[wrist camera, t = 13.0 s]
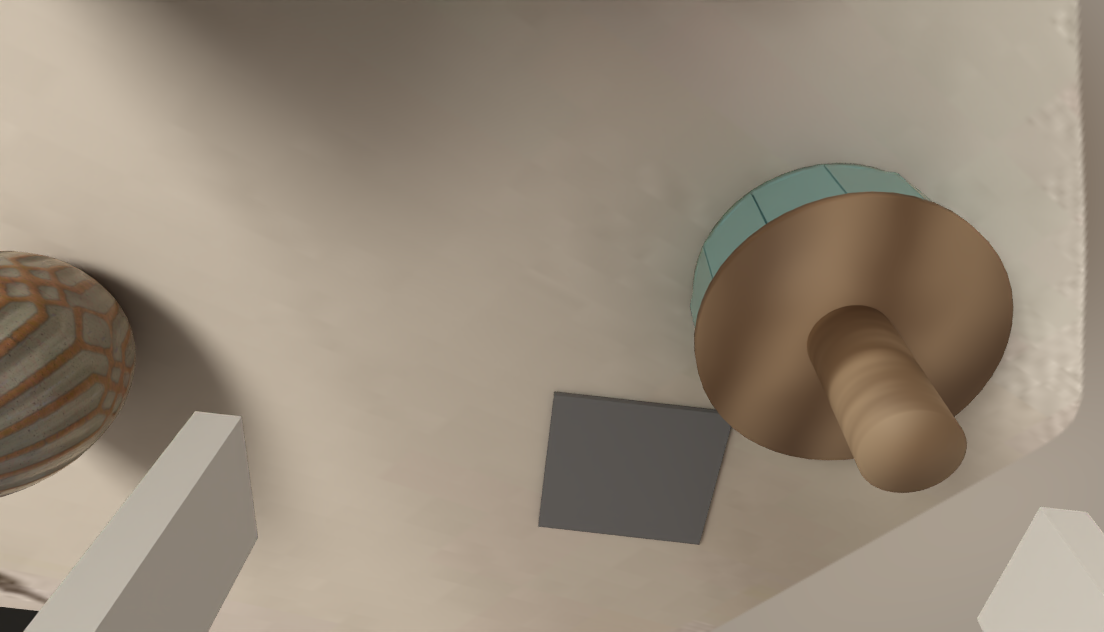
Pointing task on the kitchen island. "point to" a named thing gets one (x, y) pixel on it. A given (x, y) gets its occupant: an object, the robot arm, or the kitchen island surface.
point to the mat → (631, 467)
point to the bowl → (785, 209)
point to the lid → (857, 334)
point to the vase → (56, 366)
